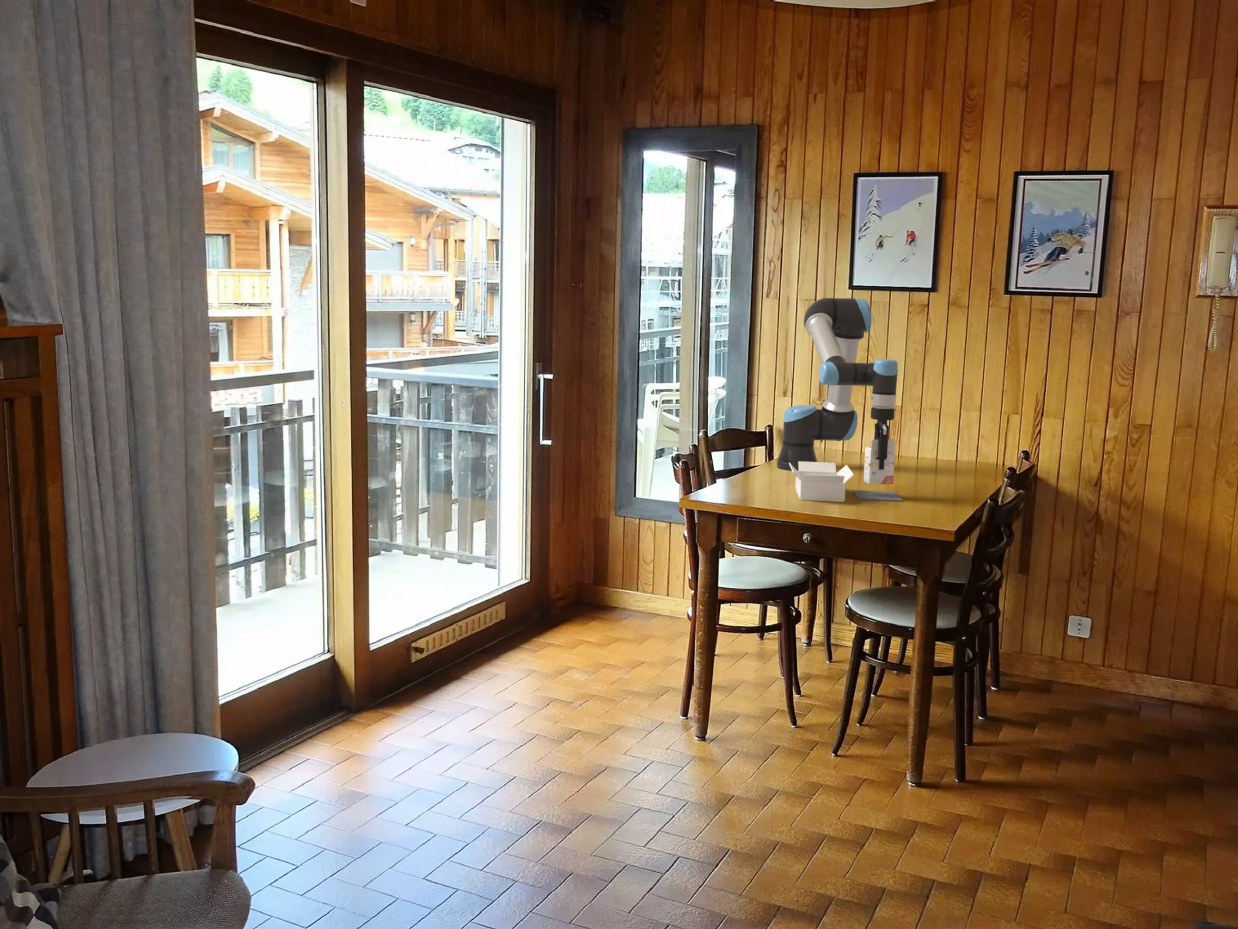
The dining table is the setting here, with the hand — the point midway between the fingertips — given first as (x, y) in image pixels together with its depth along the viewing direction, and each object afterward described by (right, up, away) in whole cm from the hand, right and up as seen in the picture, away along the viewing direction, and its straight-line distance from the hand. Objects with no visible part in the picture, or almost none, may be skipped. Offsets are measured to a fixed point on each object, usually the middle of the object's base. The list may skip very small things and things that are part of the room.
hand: (878, 477), depth 366 cm
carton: (-19, -6, +1) cm, 20 cm away
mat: (0, -6, +1) cm, 6 cm away
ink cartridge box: (0, -2, 0) cm, 2 cm away
